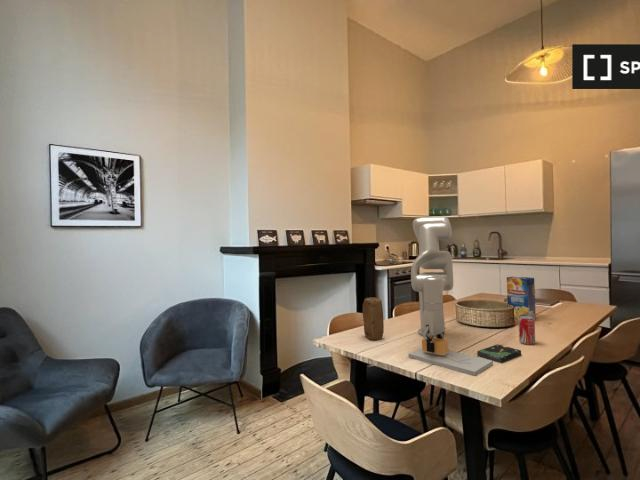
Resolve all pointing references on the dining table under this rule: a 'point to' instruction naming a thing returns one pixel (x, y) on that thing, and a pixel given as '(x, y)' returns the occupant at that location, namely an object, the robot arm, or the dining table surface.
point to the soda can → (526, 330)
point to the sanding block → (437, 346)
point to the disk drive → (499, 353)
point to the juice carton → (521, 296)
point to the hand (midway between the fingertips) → (435, 349)
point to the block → (373, 318)
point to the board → (454, 361)
